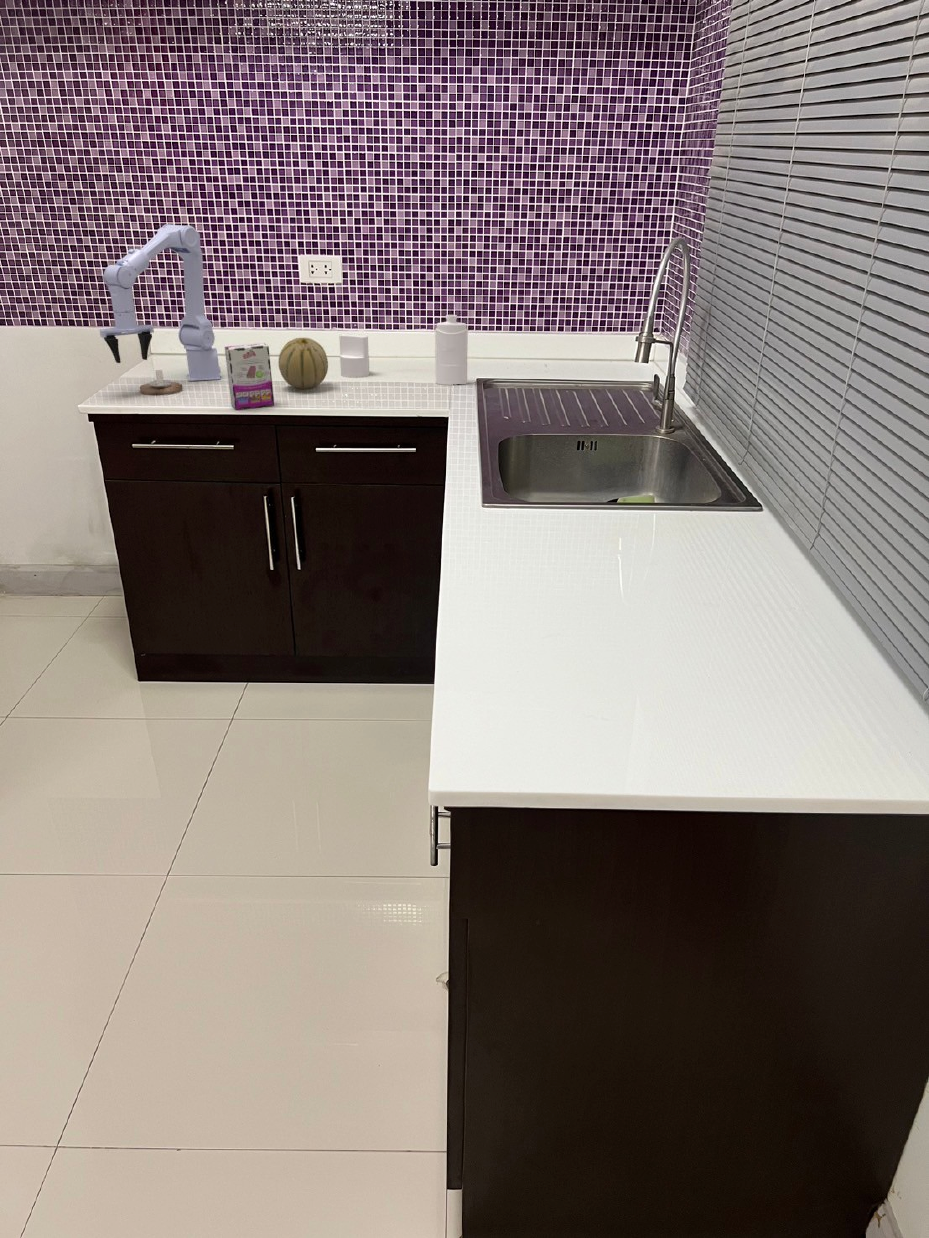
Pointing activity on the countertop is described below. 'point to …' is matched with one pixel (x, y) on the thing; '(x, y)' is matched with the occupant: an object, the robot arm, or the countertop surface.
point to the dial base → (161, 389)
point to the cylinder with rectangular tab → (354, 356)
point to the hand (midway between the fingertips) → (131, 361)
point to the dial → (160, 381)
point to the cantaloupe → (303, 363)
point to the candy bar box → (249, 376)
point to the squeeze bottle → (451, 352)
